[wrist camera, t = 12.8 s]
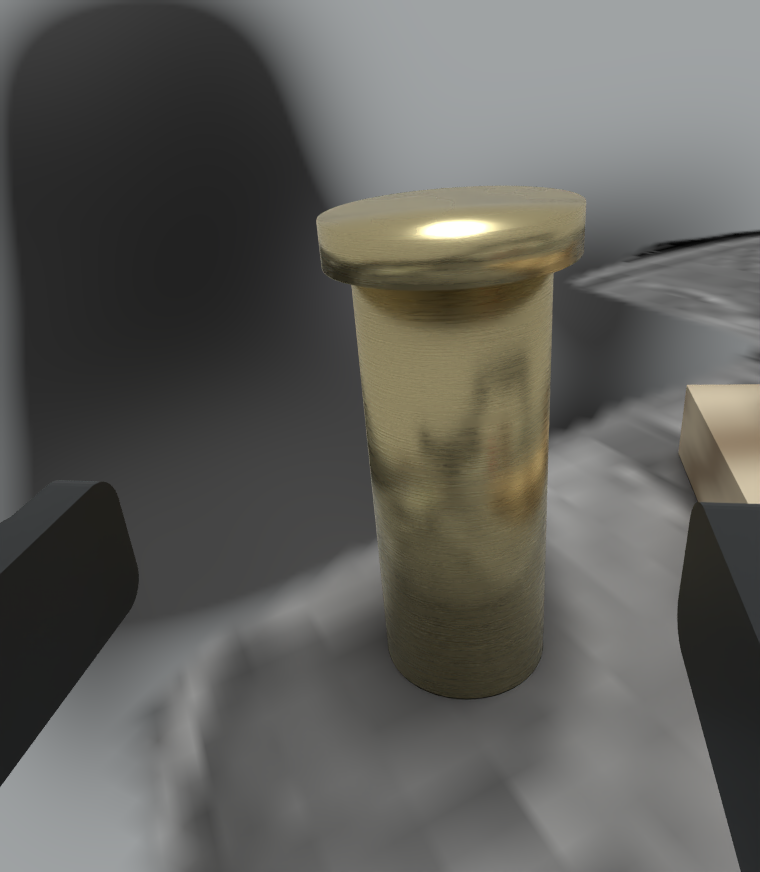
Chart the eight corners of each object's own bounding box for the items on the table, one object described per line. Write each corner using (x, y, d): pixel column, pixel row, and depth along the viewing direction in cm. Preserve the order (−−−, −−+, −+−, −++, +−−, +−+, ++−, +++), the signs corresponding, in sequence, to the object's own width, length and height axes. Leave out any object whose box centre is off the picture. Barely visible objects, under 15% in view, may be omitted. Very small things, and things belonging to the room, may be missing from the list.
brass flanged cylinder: (456, 555, 24) (440, 182, 18) (604, 633, 20) (639, 191, 15) (328, 643, 21) (263, 222, 15) (476, 757, 17) (460, 247, 11)
